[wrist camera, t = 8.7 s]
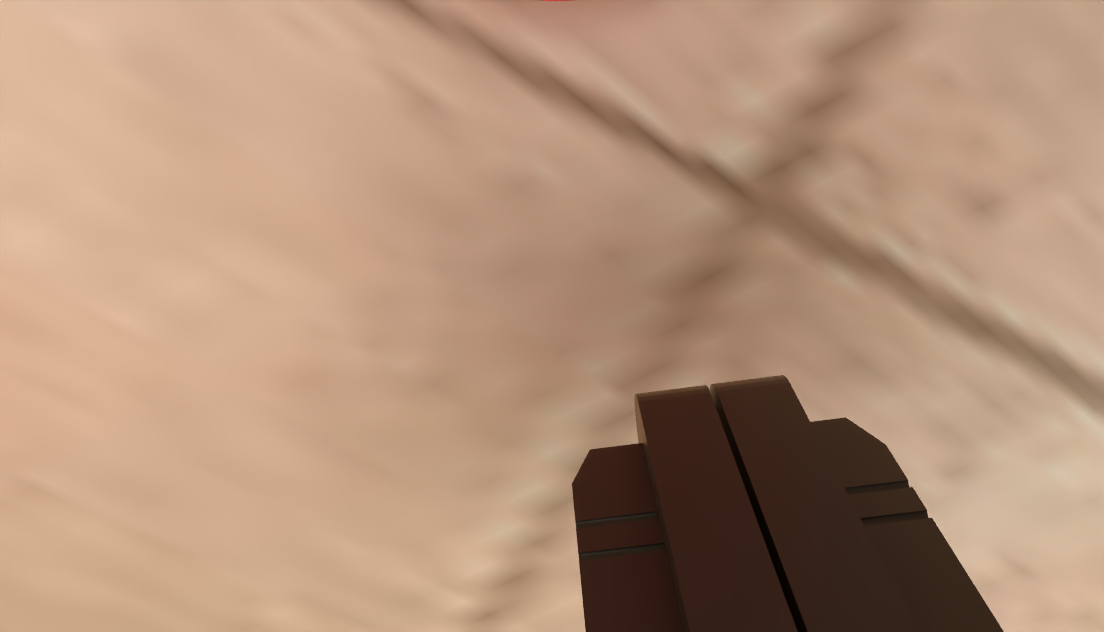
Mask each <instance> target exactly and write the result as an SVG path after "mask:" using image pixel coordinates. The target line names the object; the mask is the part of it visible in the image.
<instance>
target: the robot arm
mask: <svg viewBox="0 0 1104 632" xmlns="http://www.w3.org/2000/svg"><path fill="white" fill-rule="evenodd" d="M635 411H636V422H637V432H638V442H639V444H631V445H623V446H615V447H607V448H599V449H591V450H590V451H589V453H588V455H587V456H586V458H585V460H584V462H583V464H582V466H581V468H580V470H579V472H578V473H577V475H576V477H575V479H574V481H573V483H572V489H573V499H574V510H575V521H576V532H577V542H578V553H579V564H580V575H581V585H582V596H583V607H584V618H585V628H586V632H1003V630H1002V628H1001V627H1000V625H999V624H998V622H997V620H996V619H995V617H994V616H993V614H992V612H991V611H990V609H989V608H988V606H987V605H986V603H985V601H984V600H983V598H982V597H981V595H980V593H979V592H978V590H977V589H976V587H975V586H974V584H973V582H972V581H971V579H970V578H969V576H968V574H967V573H966V571H965V570H964V568H963V566H962V565H961V563H960V562H959V560H958V559H957V557H956V555H955V554H954V552H953V551H952V549H951V547H950V546H949V544H948V543H947V541H946V540H945V538H944V536H943V535H942V533H941V532H940V530H939V528H938V527H937V525H936V524H935V522H934V521H933V519H932V518H928V515H927V509H926V508H925V506H924V505H923V503H922V501H921V500H920V498H919V497H918V495H917V494H916V492H915V490H914V489H913V487H910V488H909V485H908V479H907V478H906V476H905V475H904V473H903V471H902V470H901V468H900V467H899V465H898V463H897V462H896V460H895V459H894V457H893V455H892V454H891V452H890V451H889V449H888V448H887V446H886V445H885V444H884V443H882V442H881V441H879V440H878V439H877V438H875V437H874V436H872V435H871V434H869V433H868V432H866V431H865V430H863V429H862V428H860V427H859V426H857V425H856V424H854V423H853V422H851V421H850V420H848V419H847V418H839V419H831V420H823V421H814V422H810V421H809V419H808V417H807V415H806V413H805V411H804V409H803V407H802V405H801V404H800V402H799V400H798V398H797V396H796V394H795V392H794V390H793V388H792V386H791V384H790V383H789V381H788V379H787V378H786V377H785V376H783V375H781V376H773V377H765V378H757V379H749V380H742V381H734V382H726V383H718V384H712V385H711V386H710V391H709V388H708V387H707V386H706V385H704V386H696V387H688V388H680V389H672V390H664V391H656V392H648V393H640V394H635Z"/></svg>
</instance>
